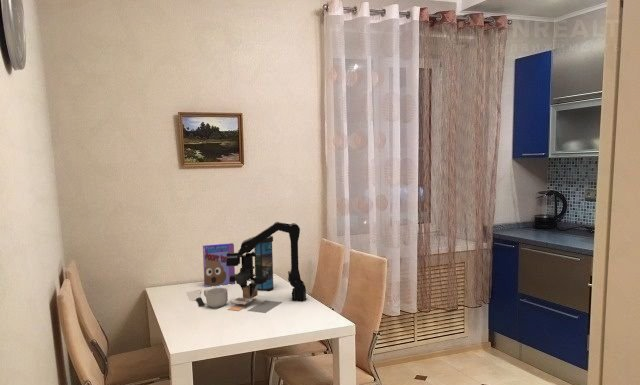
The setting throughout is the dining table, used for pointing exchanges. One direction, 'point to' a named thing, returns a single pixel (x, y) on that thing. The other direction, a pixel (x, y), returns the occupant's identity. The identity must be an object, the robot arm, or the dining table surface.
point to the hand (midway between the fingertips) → (248, 295)
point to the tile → (236, 308)
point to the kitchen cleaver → (196, 297)
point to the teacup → (216, 297)
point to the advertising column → (264, 263)
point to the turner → (246, 296)
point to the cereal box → (217, 264)
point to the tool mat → (264, 306)
